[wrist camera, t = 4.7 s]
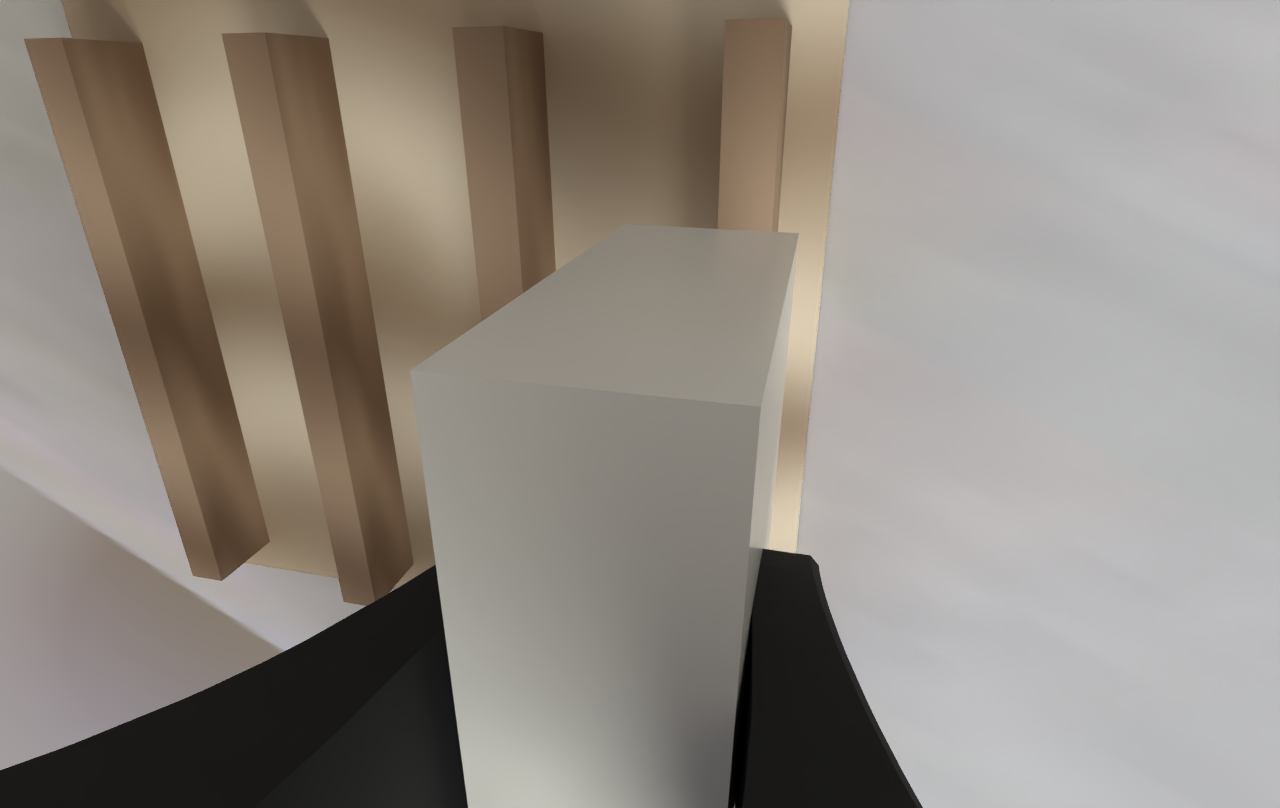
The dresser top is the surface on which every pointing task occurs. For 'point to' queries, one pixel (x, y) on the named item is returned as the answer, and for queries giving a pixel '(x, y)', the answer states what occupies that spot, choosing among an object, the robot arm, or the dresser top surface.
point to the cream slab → (609, 517)
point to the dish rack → (403, 221)
